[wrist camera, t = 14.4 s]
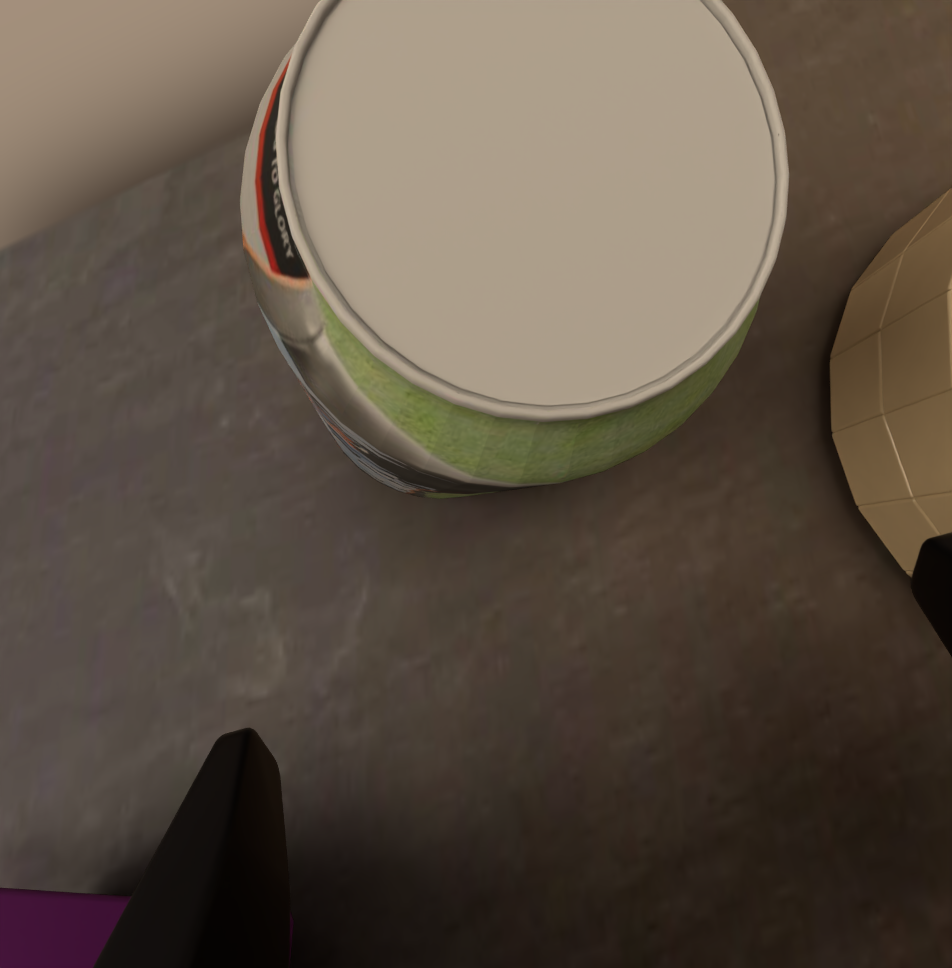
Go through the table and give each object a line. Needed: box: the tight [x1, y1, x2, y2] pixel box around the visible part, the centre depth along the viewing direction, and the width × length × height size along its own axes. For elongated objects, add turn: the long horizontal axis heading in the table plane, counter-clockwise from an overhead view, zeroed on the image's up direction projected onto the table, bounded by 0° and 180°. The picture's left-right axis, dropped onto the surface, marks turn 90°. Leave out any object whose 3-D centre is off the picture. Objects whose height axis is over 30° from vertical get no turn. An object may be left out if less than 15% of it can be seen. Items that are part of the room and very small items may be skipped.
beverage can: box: [240, 0, 789, 499], centre depth 12 cm, size 6×7×12 cm
